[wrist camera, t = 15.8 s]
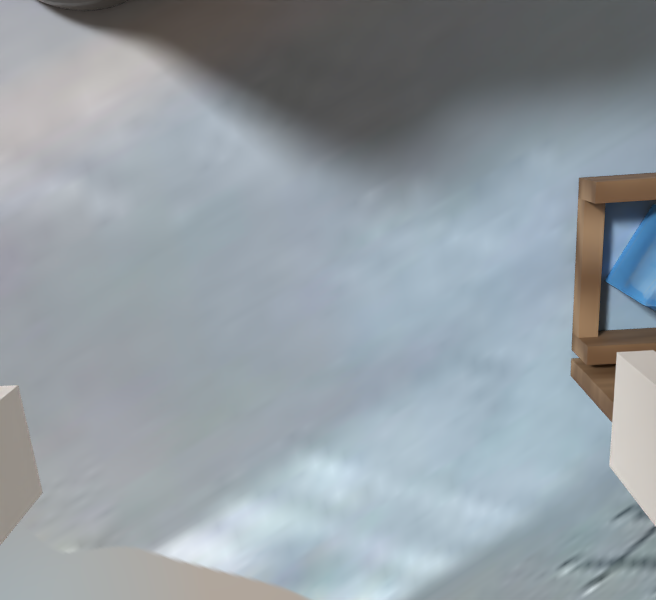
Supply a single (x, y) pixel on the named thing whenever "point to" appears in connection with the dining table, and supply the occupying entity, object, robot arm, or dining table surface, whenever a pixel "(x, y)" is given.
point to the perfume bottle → (638, 264)
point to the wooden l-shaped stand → (588, 342)
